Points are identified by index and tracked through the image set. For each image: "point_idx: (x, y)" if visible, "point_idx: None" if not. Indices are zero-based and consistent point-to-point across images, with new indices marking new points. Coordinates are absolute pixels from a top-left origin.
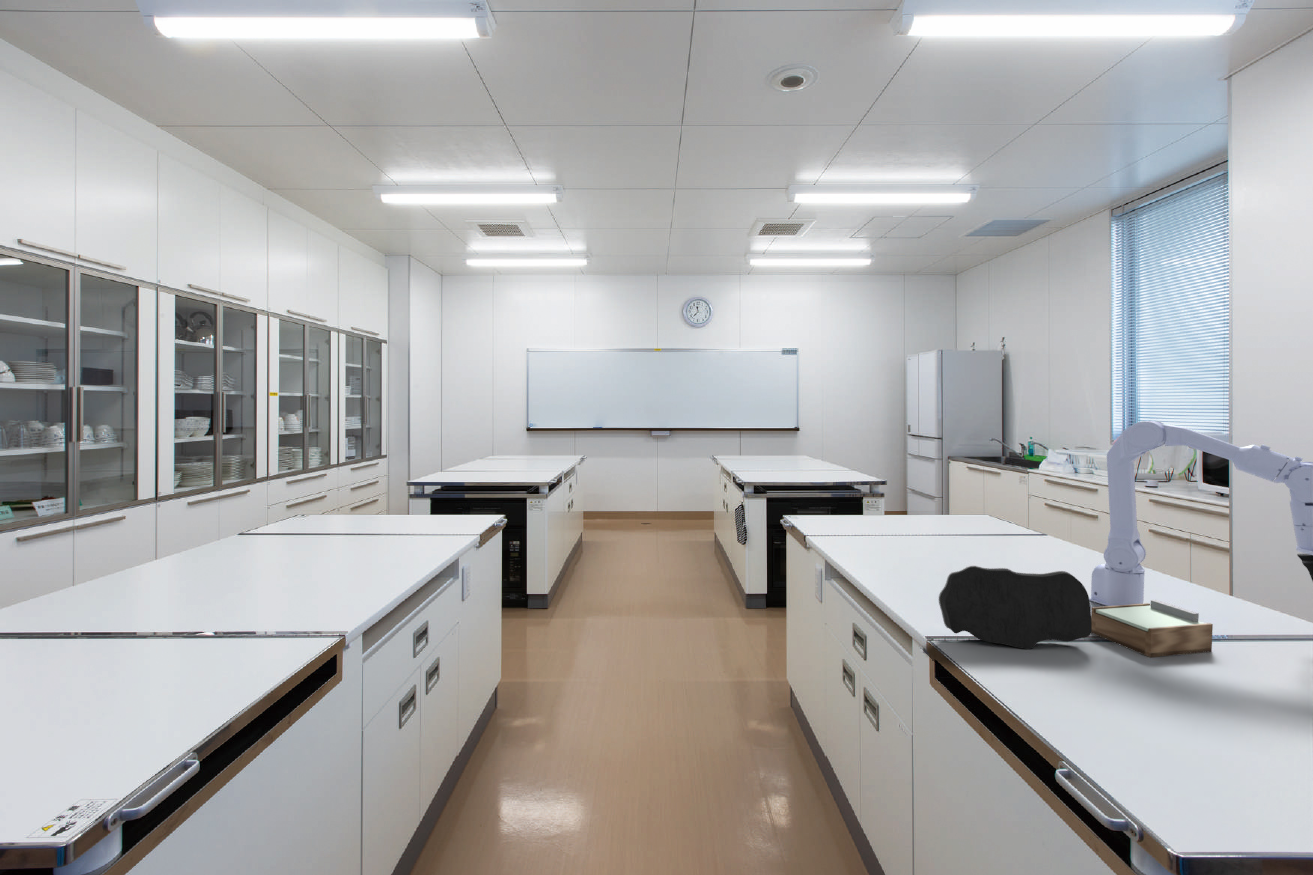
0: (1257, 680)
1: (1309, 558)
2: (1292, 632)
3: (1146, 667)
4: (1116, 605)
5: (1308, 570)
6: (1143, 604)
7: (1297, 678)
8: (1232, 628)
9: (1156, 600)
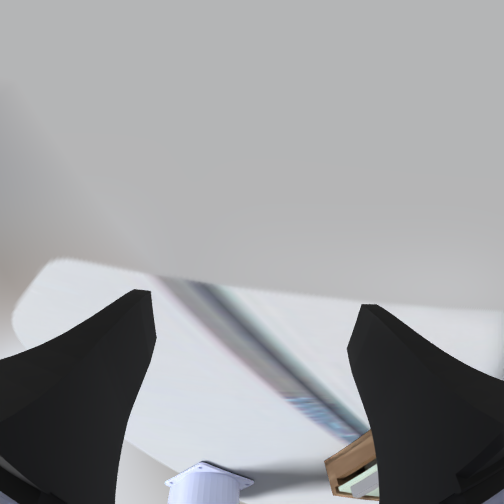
0: (483, 349)
1: (100, 498)
2: (149, 290)
3: None
4: (369, 499)
5: (122, 434)
6: (345, 494)
7: (469, 314)
8: (220, 388)
9: (356, 496)
